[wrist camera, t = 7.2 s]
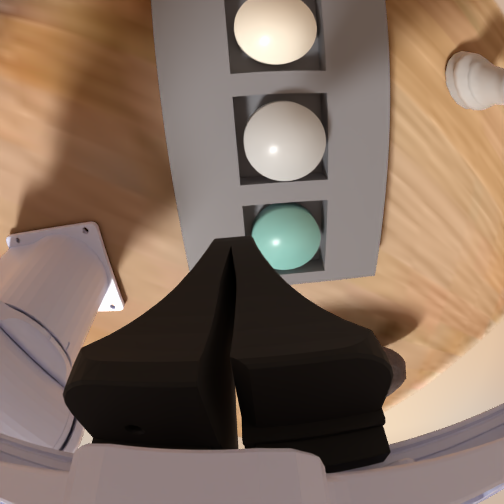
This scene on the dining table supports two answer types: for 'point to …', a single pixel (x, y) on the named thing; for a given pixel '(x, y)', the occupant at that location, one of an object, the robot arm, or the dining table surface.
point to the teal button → (286, 235)
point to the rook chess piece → (474, 81)
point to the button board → (265, 91)
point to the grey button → (284, 140)
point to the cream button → (275, 30)
